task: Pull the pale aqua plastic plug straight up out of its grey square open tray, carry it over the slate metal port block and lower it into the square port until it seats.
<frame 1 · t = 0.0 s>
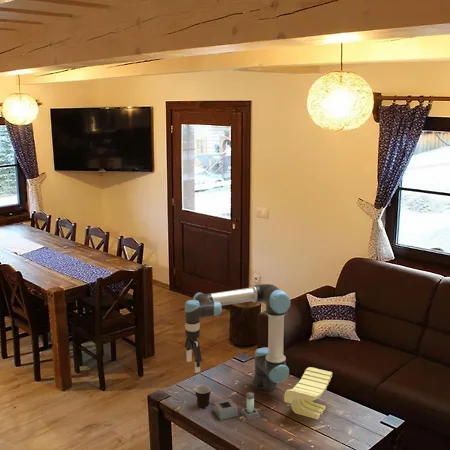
hand: (193, 366, 303), 28 cm above the table, fingers open, 13 cm apart
plug: (250, 414, 306), point 1 cm above the table, touching grey square open tray
coffee mug: (203, 404, 318), on the table
slatted curved stool: (308, 410, 312), on the table
port block: (225, 415, 307), on the table
grey square open tray: (250, 415, 306), on the table
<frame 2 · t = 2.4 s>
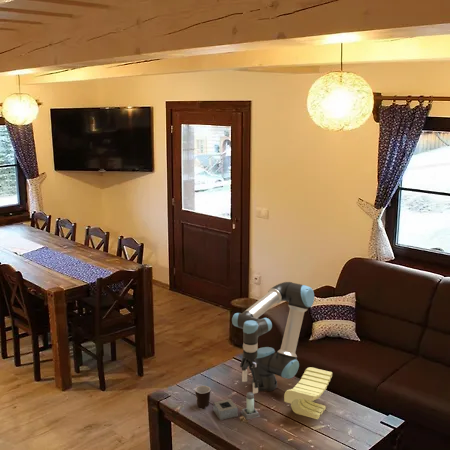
hand: (249, 387, 303), 17 cm above the table, fingers open, 13 cm apart
nothing on the table moved.
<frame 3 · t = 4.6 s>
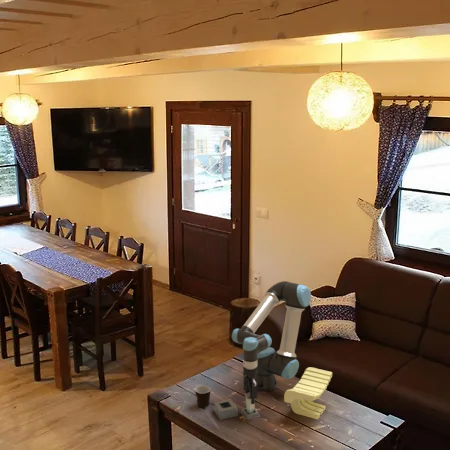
hand: (250, 406, 305), 6 cm above the table, fingers closed on plug, 4 cm apart
plug: (250, 414, 306), point 1 cm above the table, touching gripper, grey square open tray
everything else where it was.
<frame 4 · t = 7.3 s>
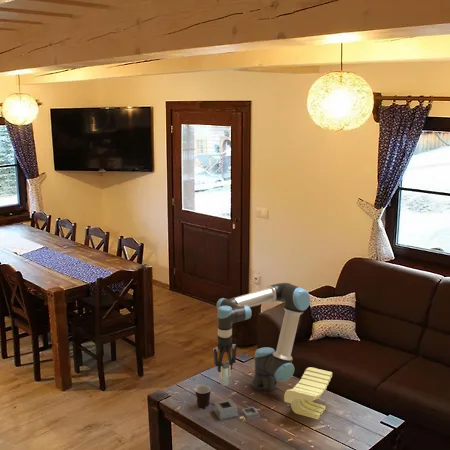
hand: (224, 376, 302), 23 cm above the table, fingers closed on plug, 4 cm apart
plug: (224, 384, 303), point 18 cm above the table, touching gripper
everything else where it was.
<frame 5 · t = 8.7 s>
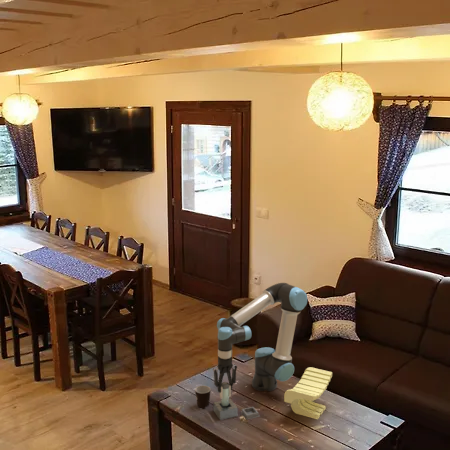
hand: (225, 396, 305), 11 cm above the table, fingers closed on plug, 4 cm apart
plug: (225, 404, 306), point 7 cm above the table, touching gripper
everything else where it was.
when the fingers open (7 cm above the table, at t = 10.1 s): plug drops 2 cm, resting in port block.
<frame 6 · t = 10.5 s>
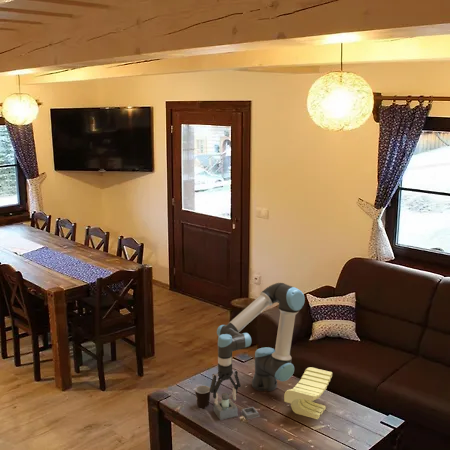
hand: (225, 401, 306), 8 cm above the table, fingers open, 10 cm apart
plug: (225, 415, 307), resting in port block
everything else where it was.
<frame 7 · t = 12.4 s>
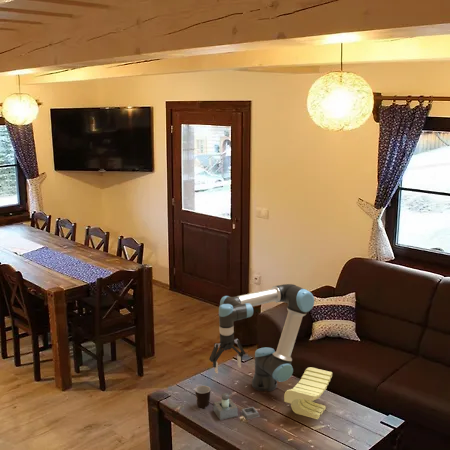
hand: (227, 369, 306), 25 cm above the table, fingers open, 13 cm apart
nothing on the table moved.
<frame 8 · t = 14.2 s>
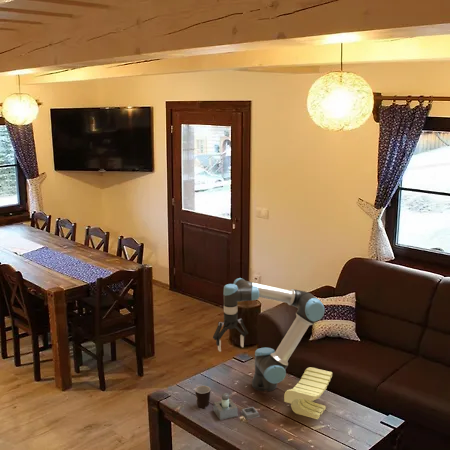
hand: (230, 348, 313), 33 cm above the table, fingers open, 13 cm apart
nothing on the table moved.
at the end: plug 0.0 cm off-centre on the port block, point 0.0 cm above the port block's base; plug tilted 0°; the gripper is holding nothing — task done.
